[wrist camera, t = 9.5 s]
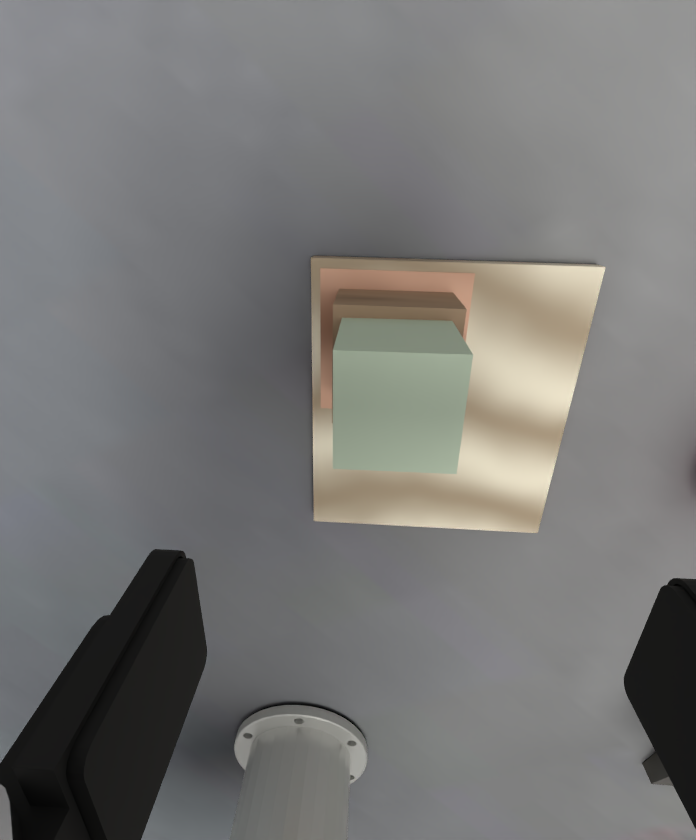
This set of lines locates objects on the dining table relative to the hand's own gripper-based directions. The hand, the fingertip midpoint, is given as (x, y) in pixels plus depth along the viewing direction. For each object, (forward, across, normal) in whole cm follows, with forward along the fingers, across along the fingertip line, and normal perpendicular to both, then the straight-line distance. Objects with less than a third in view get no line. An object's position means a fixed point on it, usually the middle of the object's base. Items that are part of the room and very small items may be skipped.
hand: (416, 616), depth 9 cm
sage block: (+14, 0, 0) cm, 14 cm away
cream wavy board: (+19, -3, +3) cm, 20 cm away
